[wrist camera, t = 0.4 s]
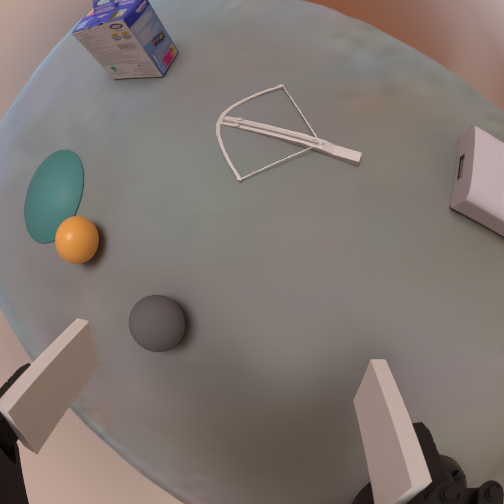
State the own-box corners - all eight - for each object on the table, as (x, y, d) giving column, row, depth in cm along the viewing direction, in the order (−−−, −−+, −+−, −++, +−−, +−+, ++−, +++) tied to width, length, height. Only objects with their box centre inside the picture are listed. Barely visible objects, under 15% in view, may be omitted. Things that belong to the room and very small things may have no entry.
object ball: (109, 262, 31) (78, 258, 26) (77, 267, 32) (46, 265, 27) (107, 216, 32) (77, 206, 27) (76, 225, 33) (46, 217, 28)
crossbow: (200, 172, 32) (193, 165, 30) (243, 85, 32) (239, 75, 30) (340, 218, 28) (342, 213, 26) (372, 116, 28) (374, 106, 26)
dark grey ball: (197, 344, 29) (174, 357, 23) (150, 346, 29) (122, 357, 24) (189, 291, 29) (165, 293, 24) (143, 296, 30) (114, 298, 25)
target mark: (82, 233, 33) (81, 232, 32) (23, 250, 35) (22, 250, 35) (87, 137, 34) (86, 136, 34) (29, 167, 37) (28, 166, 36)
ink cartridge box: (181, 49, 33) (138, -21, 19) (165, 78, 33) (112, 7, 19) (129, 53, 35) (81, -2, 21) (113, 80, 35) (58, 26, 21)
